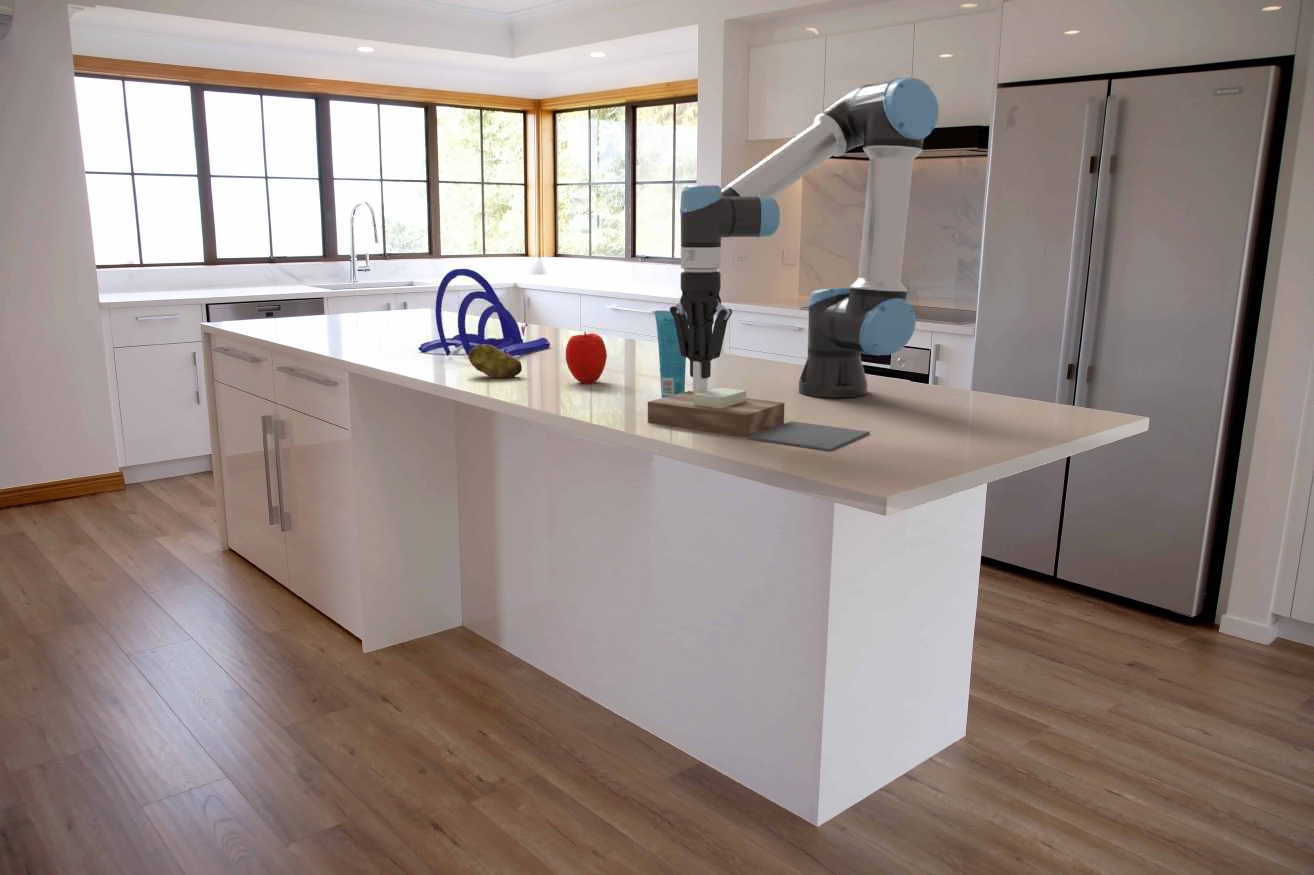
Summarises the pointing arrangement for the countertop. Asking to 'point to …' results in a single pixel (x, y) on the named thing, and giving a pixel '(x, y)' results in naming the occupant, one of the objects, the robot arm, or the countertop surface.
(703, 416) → the board
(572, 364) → the apple
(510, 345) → the sculpture
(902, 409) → the countertop surface
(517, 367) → the potato
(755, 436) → the mat
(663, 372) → the tube
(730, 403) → the pale green block
